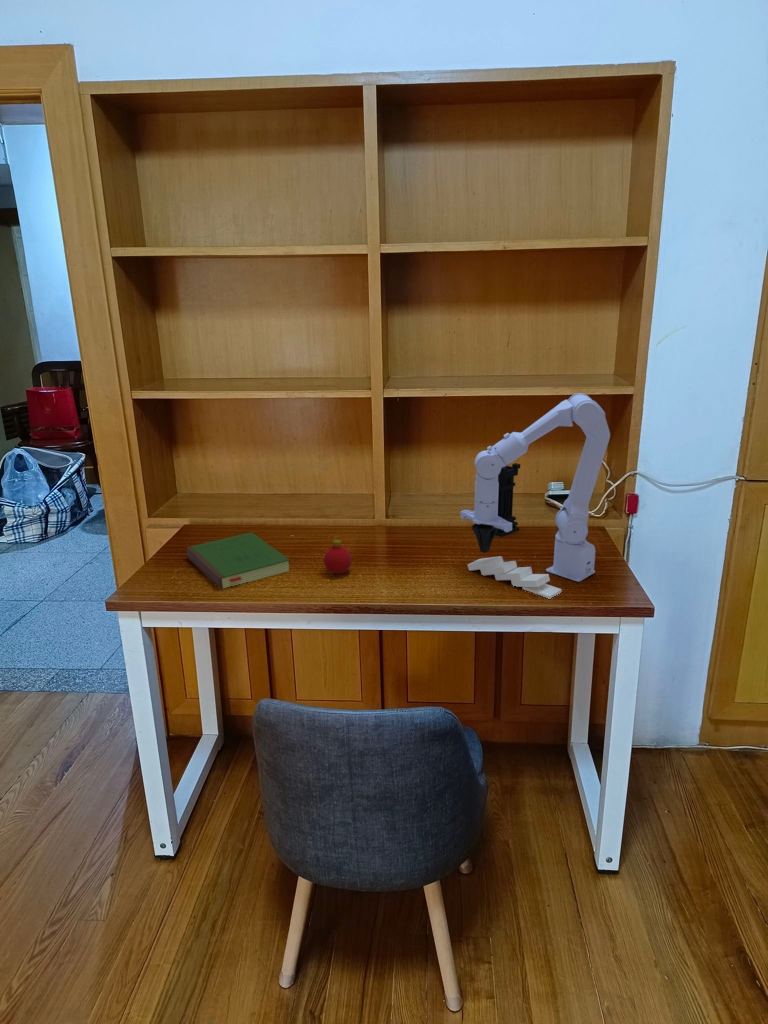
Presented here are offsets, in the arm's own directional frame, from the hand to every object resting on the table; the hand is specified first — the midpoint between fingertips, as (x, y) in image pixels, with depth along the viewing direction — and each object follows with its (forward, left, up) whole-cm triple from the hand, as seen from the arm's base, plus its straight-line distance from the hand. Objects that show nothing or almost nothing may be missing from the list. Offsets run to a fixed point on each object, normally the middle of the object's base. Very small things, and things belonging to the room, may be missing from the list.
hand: (484, 551), depth 171 cm
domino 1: (+3, 0, -5) cm, 6 cm away
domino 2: (-1, 0, -5) cm, 5 cm away
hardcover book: (+50, +41, -6) cm, 65 cm away
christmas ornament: (+27, +26, -6) cm, 38 cm away
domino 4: (-10, 0, -5) cm, 11 cm away
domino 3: (-5, 0, -5) cm, 7 cm away
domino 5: (-13, 0, -5) cm, 14 cm away
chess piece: (+15, -26, -6) cm, 30 cm away
